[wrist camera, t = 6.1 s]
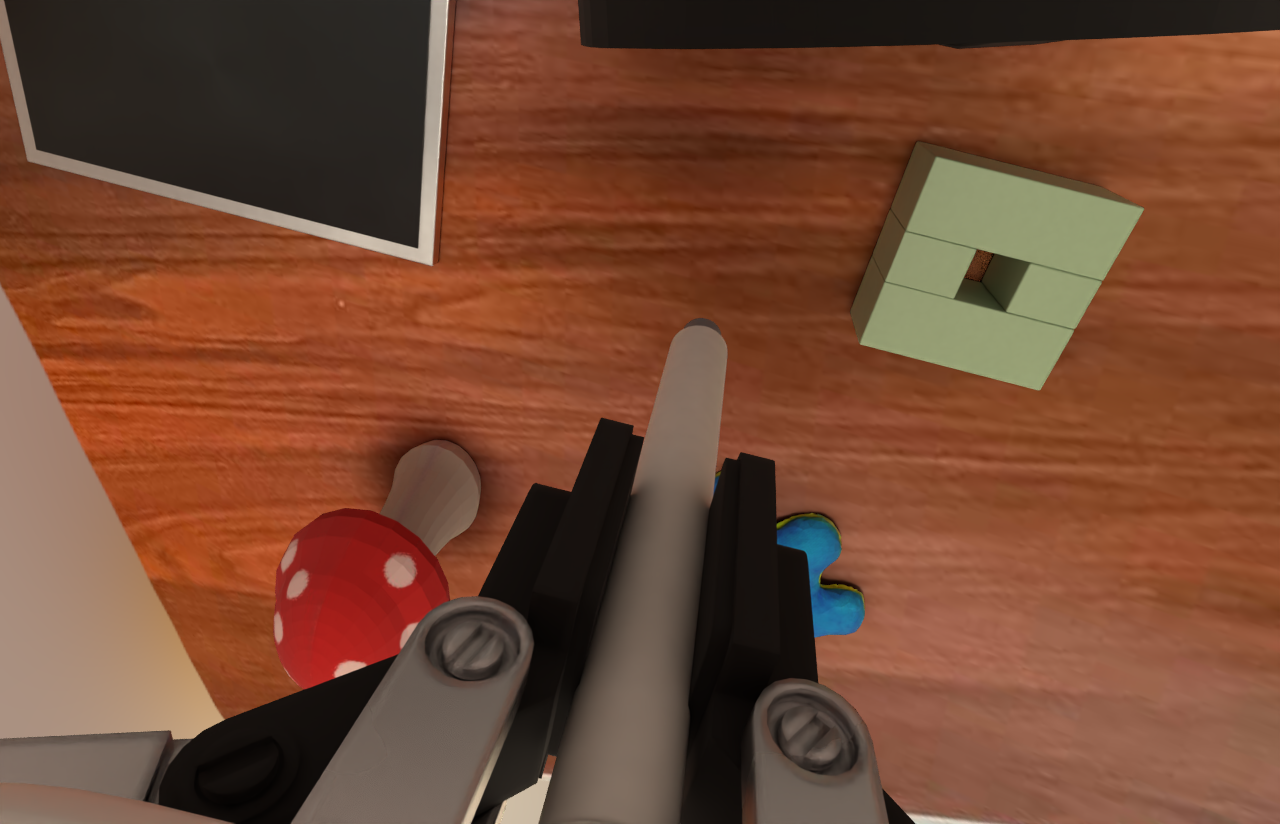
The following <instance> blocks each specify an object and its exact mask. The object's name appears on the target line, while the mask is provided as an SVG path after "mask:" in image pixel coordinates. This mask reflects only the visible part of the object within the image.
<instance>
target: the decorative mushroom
mask: <svg viewBox="0 0 1280 824" xmlns="http://www.w3.org/2000/svg"><path fill="white" fill-rule="evenodd" d="M480 493H481V482H480V475H479V472H478V469H477V467H476V464H475V463H474V461H473V460H472V458H471V457H470V456H469V454H468V453H467V452H466V451H464V450H463V449H462V448H461V447H459V446H458V445H456V444H454V443H451V442H449V441H447V440H432V441H429V442H426V443H423V444H421V445H419V446H417V447H415V448H413V449H411V450H410V451H408V452H407V453H406V454H405V455H404V456H403V457H401V459H400V461H399V463H398V465H397V467H396V469H395V473H394V479H393V484H392V488H391V491H390V493H389V495H388V498H387V500H386V502H385V504H384V506H383V508H382V510H381V512H380V514H378V513H376V512H373V511H370V510H360V509H349V508H344V509H340V510H336V511H332V512H328V513H324V514H322V515H320V516H319V517H318V518H316V519H315V520H314V521H312V522H311V523H310V524H308V525H307V526H306V527H304V528H303V529H301V530H300V531H299V532H297V533H296V534H295V535H294V537H293V539H292V540H291V542H290V544H289V546H288V548H287V550H286V552H285V553H284V556H283V558H282V560H281V562H280V564H279V566H278V569H277V572H276V586H275V594H276V604H275V613H274V629H273V633H274V642H275V645H276V649H277V652H278V656H279V658H280V661H281V663H282V665H283V667H284V668H285V670H286V672H287V673H288V675H289V676H290V677H291V678H292V679H293V680H294V681H295V682H296V683H297V684H298V685H299V686H300V687H302V688H303V689H307V688H310V687H313V686H315V685H318V684H321V683H323V682H326V681H329V680H331V679H334V678H336V677H339V676H342V675H344V674H347V673H350V672H352V671H355V670H358V669H360V668H363V667H366V666H368V665H371V664H373V663H376V662H379V661H381V660H384V659H387V658H389V657H392V656H395V655H397V654H399V653H400V651H401V649H402V648H403V646H404V645H405V643H406V642H407V640H408V638H409V637H410V635H411V634H412V632H413V631H414V629H415V627H416V626H417V624H418V623H419V622H420V621H421V620H422V619H423V618H424V616H425V615H426V614H427V613H428V612H429V611H431V610H432V609H434V608H436V607H437V606H439V605H441V604H442V603H444V602H448V601H450V596H449V587H448V582H447V579H446V577H445V575H444V573H443V571H442V568H441V566H440V564H439V562H438V559H437V558H436V557H435V555H436V554H437V553H438V552H439V551H440V550H441V549H442V547H443V546H445V545H446V544H447V543H448V542H449V541H450V540H451V539H452V538H454V537H456V536H458V535H459V534H461V533H462V532H464V531H465V530H466V529H468V528H469V527H470V525H471V524H472V522H473V521H474V519H475V517H476V514H477V510H478V506H479V500H480Z"/></svg>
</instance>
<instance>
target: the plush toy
mask: <svg viewBox="0 0 1280 824" xmlns="http://www.w3.org/2000/svg"><path fill="white" fill-rule="evenodd" d="M720 473H721V471H720V472H718V473H716V474H715V482H714V492H715V489H716V486H717V483H718V479H719V476H720ZM714 492H713V495H714ZM836 528H837V527H835V525H834V524H833V522H832V521H830V520H829V519H827V518H826V517H824V516H822V515H819V514H817V515H815V514H813V513H810V514H804V515H802V514H800V515H796V516H792V517H791V518H789V519H785V520H784V521H783V522H779V523H778V524H777V544H779V545H783V546H787V547H791V548H795V549H799V550H803V551H805V552H806V554H807V558H808V566H809V578H810V590H811V602H812V614H813V626H814V638H815V637H820V636H824V635H847V634H850V633H853V632H856V630H857V629H858V628H859V627H860V625H861V623H862V621H863V619H864V616H865V606H864V596H863V595H862V592H858V591H857V589H853V587H848V586H845V585H840V584H839V586H838V585H837V584H833V585H822V584H820V578H821V575H822V572H823V571H824V569H825V568H827V567H828V566H829V565H830V564H831V563H833V562H834V561H836V560H837V558H838V557H839V555H840V553H841V550H842V548H841V539H840V538H841V535H840V534H839V531H838V530H837V529H836Z"/></svg>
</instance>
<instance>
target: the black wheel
mask: <svg viewBox="0 0 1280 824" xmlns="http://www.w3.org/2000/svg"><path fill="white" fill-rule="evenodd" d="M578 6H579V21H580V35H581V45H583V46H587V47H596V48H637V49H742V48H815V47H858V46H899V45H933V44H939V45H943V46H948V47H952V48H957V49H963V48H981V47H999V46H1016V45H1034V44H1043V43H1050V42H1057V41H1064V40H1080V39H1107V38H1132V37H1155V36H1178V35H1199V34H1219V33H1236V32H1253V31H1268V30H1280V0H578Z"/></svg>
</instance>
